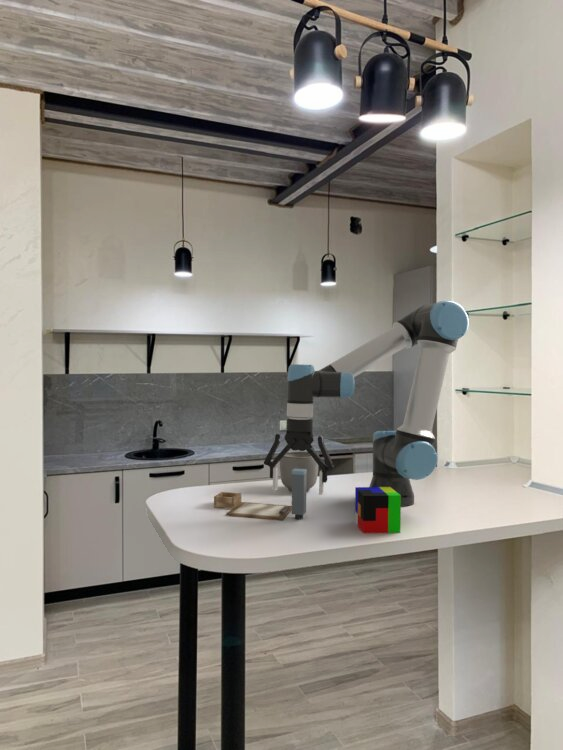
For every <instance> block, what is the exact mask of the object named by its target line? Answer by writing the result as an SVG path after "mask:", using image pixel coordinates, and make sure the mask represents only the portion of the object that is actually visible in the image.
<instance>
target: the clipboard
mask: <svg viewBox="0 0 563 750" xmlns="http://www.w3.org/2000/svg"><path fill="white" fill-rule="evenodd" d="M290 513H292V505H288V504H287V505H286V504H272V503H262V502H261V503H259V502H247V501H241V503H240V504H239V505H237V506H236V507H235V508H233V509H229V511H227V512H226V514H225V516H226V515H229V516H228V517H237V516H238V517H239V518H240V517H241V518H251V519H261V520H273V521H274V520H276V521H283V520H284V519H286V517H287V516H288V515H289V514H290Z"/></svg>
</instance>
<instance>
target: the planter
mask: <svg viewBox="0 0 563 750" xmlns="http://www.w3.org/2000/svg"><path fill="white" fill-rule="evenodd" d="M317 454H318V455H319V453H317ZM319 456H320V455H319ZM295 468H297V469H307V483H306V493H308V492H310V490H311V489H312V488H313V487H314V486H315V485H316V483H317V481H318V477H319V476H318V475H319V465H318V464H317V463H316V461H315V460H314V459H313V457H312V456H311V455H310V454H309V453H308V452H307V450H305V451H300V450H296V451H295V450H291V451H290V450H289V451H288V452H287V453H286V454H285V455H284V456H283V458H282V459H281V460H280V461H279V474H280V480H281V484H282V485H283V486H284V487H285V488H287V490H288V491H289V492H290V493H292V470H293V469H295Z"/></svg>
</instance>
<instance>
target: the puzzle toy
mask: <svg viewBox="0 0 563 750" xmlns="http://www.w3.org/2000/svg"><path fill="white" fill-rule="evenodd" d="M354 496H355V497H354V499H355V500H354V509H355V511H354V523H355V524H356V526H357V527H358V528H359V529H360V531H361V532H362V533H363V534H391V533H392V534H393V533H394V534H396V533H399V534H401V523H402V522H401V515H402V512H401V509H402V506H401V495H400V494H399V493H397V492H396V491H395V490H393V489H392V488H391V487H369V486H367V487H366V486H365V487H364V486H362V487H361V486H358V487H357V486H356V487H355V494H354Z"/></svg>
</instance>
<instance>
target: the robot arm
mask: <svg viewBox="0 0 563 750" xmlns="http://www.w3.org/2000/svg"><path fill="white" fill-rule="evenodd" d="M469 322H470V321H469V317H468V313H467V312H466V310H465V309H464V307H463V306H462V305H461V304H460V303H458V302H455V301H451V300H446V301H445V300H442V301H438V302H435V303H430V304H423V305H421V306H419V307H417V308H415V309H413V310H412V311H411V312H409V313H408V314H407V315H405V316H403V317H401V318H400V319H399V320H397V321H395V322H393V324H392V327H391V328H389V329H387V330H386V331H384V332H382V333H381V334H379V335H378V336H376V337H374V338H372V339H370V340H369V341H367V342H365V343H364V344H362V345H360V346H358V347H357V348H355V349H353V350H351V351H350V352H348V353H347V354H345V355H344V356H341V357H340V358H337V360H335V361H333V362H331V363H330V364H328V365H326V366H324V367H323V368H321V369H319V370H315V366H314V365H313V364H290V365H289V366H288V369H287V370H288V371H287V372H288V373H287V379H286V381H287V395H286V396H287V399H286V400H287V402H286V417H287V419H286V427H285V428H286V429H285V431H286V433H285V434H282V433H281V432H279V433H278V432H277V433H276V434H275V436H274V442H273V444H272V446H271V447H270V450H269V451H268V453H267V455H266V456H265V459H264V461H263V465H264V466H268V467H269V478H270V479H272V491H277V490H278V487H279V486H278V485H279V466H277V464H278V463H280V460H281V459H282V458H283V456H284V455H285V454H286V453H287V452H289V451H290V450H291V451H307V452H308V453H309V454H310V455H311V456H312V457H313V459H314V460H315V461H316V463H317V464H318V468H320V469H321V470H319V471H318V475H319V476H318V477H319V478H318V480H319V481H318V484H319V485H318V495H320V496H321V495H323V494H324V486H325V485H324V483H327V482H328V471H331V470H333V468H335V465H334V462H333V460H332V458H331V455H330V454H329V452H328V449H327V447H326V445H325V441H324V440H325V439H324V436H323V435H321V434H320V435H317V436H315V435H314V433H313V425H314V424H313V423H314V420H313V419H312V418H313V417H314V398H324V399H325V398H327V399H329V398H330V399H331V398H333V399H336V398H337V399H343V398H345V399H346V398H351V397H352V396H353V395H354V393H355V390H356V389H355V388H356V387H355V386H356V381H355V377H358V376H359V375H361V374H362V373H364V372H366V371H367V370H369V369H371V368H373V367H375V366H376V365H377V364H379V363H381V362H383V361H384V360H386V359H388V358H390V357H391V356H393V355H395V354H397V353H398V352H399V351H401V350H403V349H406V350H407V349H408V350H409V349H410V348H412V347H415V346H416V345H418V347H419V348H420V349H419V354H418V359H417V363H416V367H415V370H414V371H415V372H414V375H413V380H412V383H411V384H412V385H411V389H410V392H409V397H408V402H407V406H406V411H405V414H404V420H403V424H401V426H399V427H397V428H396V430H377V431H375V432H374V433H373V438H372V476H371V477H372V478H371V481H370V482H369V486H368V487H391V488H392V489H393V490H395V491H396V492H397V493H399V494H400V495H401V507H406V506H410V505H413V504H414V503H415V493H414V491H413V486H412V483H411V480H415V481H417V480H422V479H423V480H424V479H425V478H427V477H428V476H430V475H432V473H433V472H434V471H435V469H436V468H437V464H438V454H437V451H436V449H435V447H434V445H435V443H436V442H435V441H436V437H435V435H434V434H433V431H432V430H433V428H434V427H433V426H434V423H435V417H436V414H437V409H438V404H439V400H440V395H441V392H442V387H443V383H444V378H445V373H446V371H447V365H448V361H449V357H450V354H452V353H453V352H454V351H456V349H457V346H458V341H459V339H461V338H462V337H463V336H465V335H466V333H467V331H468V330H469V329H468V328H469ZM284 440H285V442H286V445H285V447H284V448H283V449H282V450H280V452H279V454H278V455H276V457H275V458H274V459H273V457H274V455H275V453H276V451H277V449H278V448H279V446H280V444H281V442H283V441H284ZM313 442H314V443H316V445H318V448H319V450H320V452H321V455H322V457H323V459H324V460H323V459H322V458H321V457H320V455H318V454H319V453H318V452H317V451H316V450H315V448H314V447H313V445H312V444H313ZM272 459H273V460H272Z"/></svg>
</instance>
